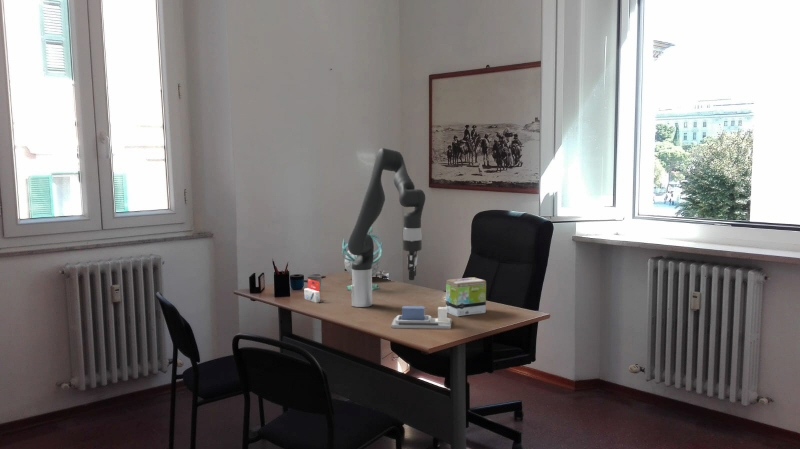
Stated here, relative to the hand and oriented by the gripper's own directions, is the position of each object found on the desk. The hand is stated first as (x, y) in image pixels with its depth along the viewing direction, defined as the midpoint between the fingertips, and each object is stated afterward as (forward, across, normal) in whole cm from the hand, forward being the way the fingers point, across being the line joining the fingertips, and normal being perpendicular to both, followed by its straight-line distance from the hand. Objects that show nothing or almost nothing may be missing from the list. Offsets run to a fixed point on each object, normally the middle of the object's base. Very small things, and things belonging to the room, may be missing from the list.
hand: (412, 277), depth 268 cm
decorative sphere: (+20, -96, -37) cm, 105 cm away
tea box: (+20, -21, +22) cm, 36 cm away
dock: (+20, 0, +4) cm, 20 cm away
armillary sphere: (+20, -72, -32) cm, 81 cm away
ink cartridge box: (+20, -42, -52) cm, 70 cm away
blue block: (+18, 0, 0) cm, 18 cm away
